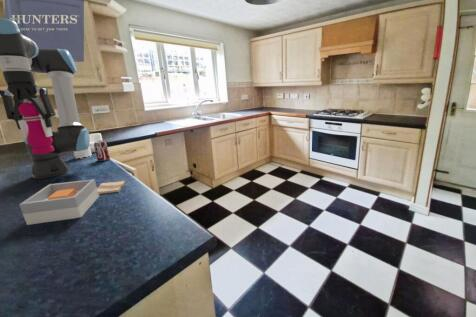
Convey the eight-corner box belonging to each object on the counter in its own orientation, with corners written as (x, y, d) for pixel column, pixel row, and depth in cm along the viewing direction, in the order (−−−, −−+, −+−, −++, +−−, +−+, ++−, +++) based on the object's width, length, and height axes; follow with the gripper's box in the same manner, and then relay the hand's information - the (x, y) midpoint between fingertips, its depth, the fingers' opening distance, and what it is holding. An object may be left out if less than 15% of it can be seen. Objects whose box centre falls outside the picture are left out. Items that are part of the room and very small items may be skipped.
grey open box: (55, 201, 87) (49, 184, 85) (99, 196, 90) (94, 179, 88) (27, 224, 72) (19, 204, 70) (81, 217, 75) (75, 197, 73)
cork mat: (102, 185, 101) (101, 183, 100) (125, 182, 102) (125, 180, 102) (93, 194, 91) (92, 192, 91) (119, 191, 93) (118, 189, 93)
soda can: (96, 160, 139) (91, 141, 136) (108, 157, 144) (104, 139, 140) (99, 162, 135) (94, 143, 131) (111, 159, 139) (107, 141, 136)
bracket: (88, 158, 146) (83, 140, 142) (73, 159, 145) (67, 141, 142) (107, 148, 169) (103, 132, 166) (94, 149, 169) (90, 133, 165)
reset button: (60, 201, 83) (57, 190, 81) (78, 199, 84) (75, 188, 82) (51, 209, 77) (47, 197, 76) (70, 206, 78) (66, 195, 77)
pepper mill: (51, 149, 89) (34, 97, 83) (59, 150, 85) (42, 97, 79) (28, 153, 83) (8, 99, 77) (36, 155, 79) (15, 98, 74)
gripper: (-27, 71, 70) (0, 141, 77) (42, 68, 74) (62, 136, 80) (-7, 73, 78) (16, 137, 84) (55, 70, 81) (72, 133, 88)
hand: (38, 136), depth 82 cm, fingers closed on pepper mill, 6 cm apart
